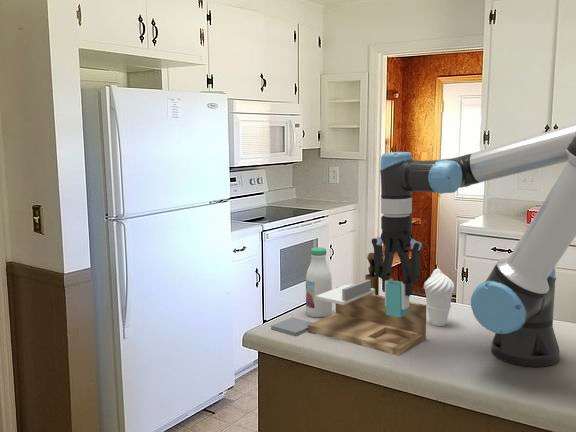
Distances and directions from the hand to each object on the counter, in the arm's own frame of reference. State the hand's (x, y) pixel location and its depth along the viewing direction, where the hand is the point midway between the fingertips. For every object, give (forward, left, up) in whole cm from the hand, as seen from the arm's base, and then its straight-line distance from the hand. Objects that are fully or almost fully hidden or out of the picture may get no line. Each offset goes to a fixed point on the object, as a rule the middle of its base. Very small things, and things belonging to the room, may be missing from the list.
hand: (397, 306), depth 144 cm
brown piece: (+10, 0, -10) cm, 14 cm away
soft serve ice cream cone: (-1, -20, -10) cm, 23 cm away
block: (0, 0, -2) cm, 2 cm away
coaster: (+29, +7, -10) cm, 31 cm away
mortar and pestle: (+20, -19, -10) cm, 29 cm away
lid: (+16, -1, -7) cm, 18 cm away
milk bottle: (+31, -7, -10) cm, 33 cm away
